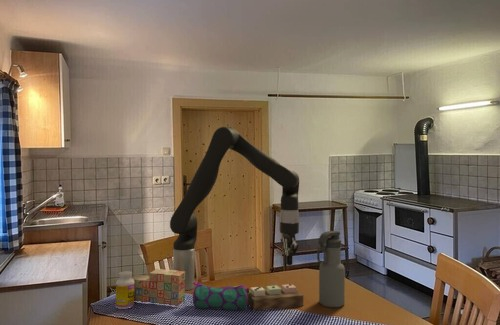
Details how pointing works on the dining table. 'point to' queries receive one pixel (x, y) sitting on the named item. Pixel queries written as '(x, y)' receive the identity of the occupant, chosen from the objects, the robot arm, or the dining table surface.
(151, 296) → the stack of blocks
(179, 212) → the robot arm
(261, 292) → the button three dots
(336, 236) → the water bottle
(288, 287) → the button two dots
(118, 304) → the supplement bottle
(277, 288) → the button one dot
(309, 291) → the dining table surface
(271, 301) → the button panel
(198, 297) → the pencil case
